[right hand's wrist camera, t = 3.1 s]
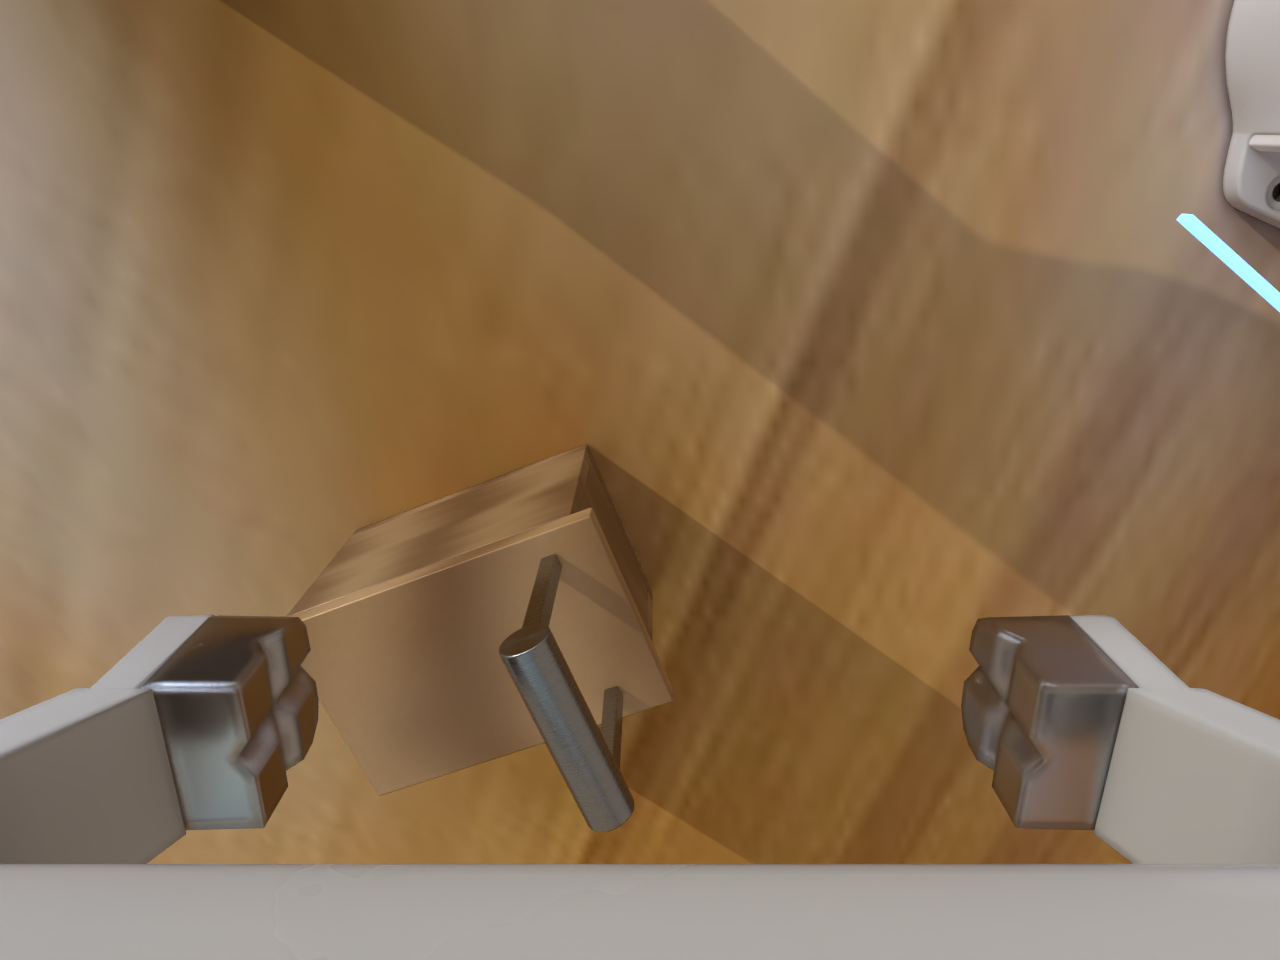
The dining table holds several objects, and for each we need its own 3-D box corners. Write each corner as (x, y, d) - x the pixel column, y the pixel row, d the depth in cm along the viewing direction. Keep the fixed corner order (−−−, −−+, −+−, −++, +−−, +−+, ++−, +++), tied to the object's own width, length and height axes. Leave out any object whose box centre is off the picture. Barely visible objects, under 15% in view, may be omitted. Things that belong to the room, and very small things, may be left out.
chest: (586, 443, 44) (570, 513, 35) (652, 594, 47) (652, 694, 38) (356, 529, 46) (285, 617, 37) (433, 669, 49) (385, 781, 40)
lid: (591, 506, 35) (573, 610, 27) (673, 688, 38) (679, 831, 30) (284, 618, 37) (179, 746, 29) (384, 782, 40) (316, 940, 32)
